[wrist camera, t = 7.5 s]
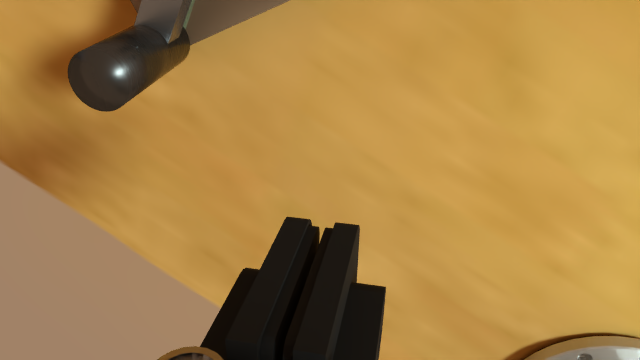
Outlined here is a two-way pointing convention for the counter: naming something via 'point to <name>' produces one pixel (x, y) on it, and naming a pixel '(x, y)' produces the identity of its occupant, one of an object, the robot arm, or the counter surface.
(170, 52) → the grey crank handle
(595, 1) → the counter surface
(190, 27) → the crank board
